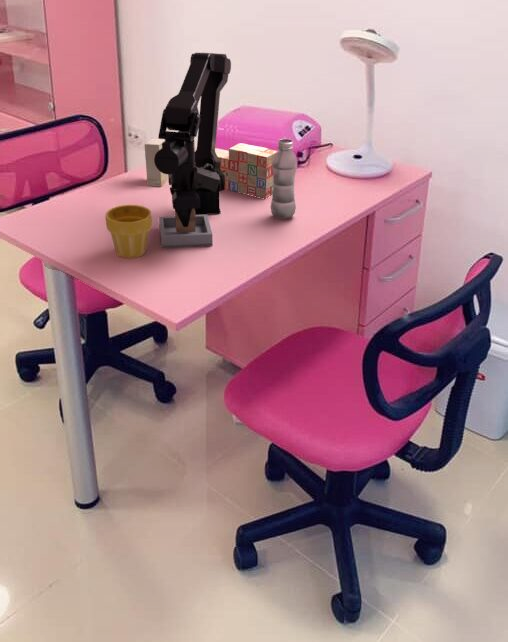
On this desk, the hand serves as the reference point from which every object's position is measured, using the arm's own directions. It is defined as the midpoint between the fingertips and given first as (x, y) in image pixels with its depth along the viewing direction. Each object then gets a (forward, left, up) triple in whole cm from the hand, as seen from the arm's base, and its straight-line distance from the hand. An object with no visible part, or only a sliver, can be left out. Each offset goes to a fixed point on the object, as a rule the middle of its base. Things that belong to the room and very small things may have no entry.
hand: (184, 222), depth 175 cm
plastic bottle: (-26, -9, -4) cm, 28 cm away
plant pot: (+13, +7, -4) cm, 15 cm away
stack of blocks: (-18, -31, -4) cm, 36 cm away
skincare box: (+5, -38, -4) cm, 39 cm away
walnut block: (0, 0, -2) cm, 2 cm away
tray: (0, 0, -4) cm, 4 cm away
